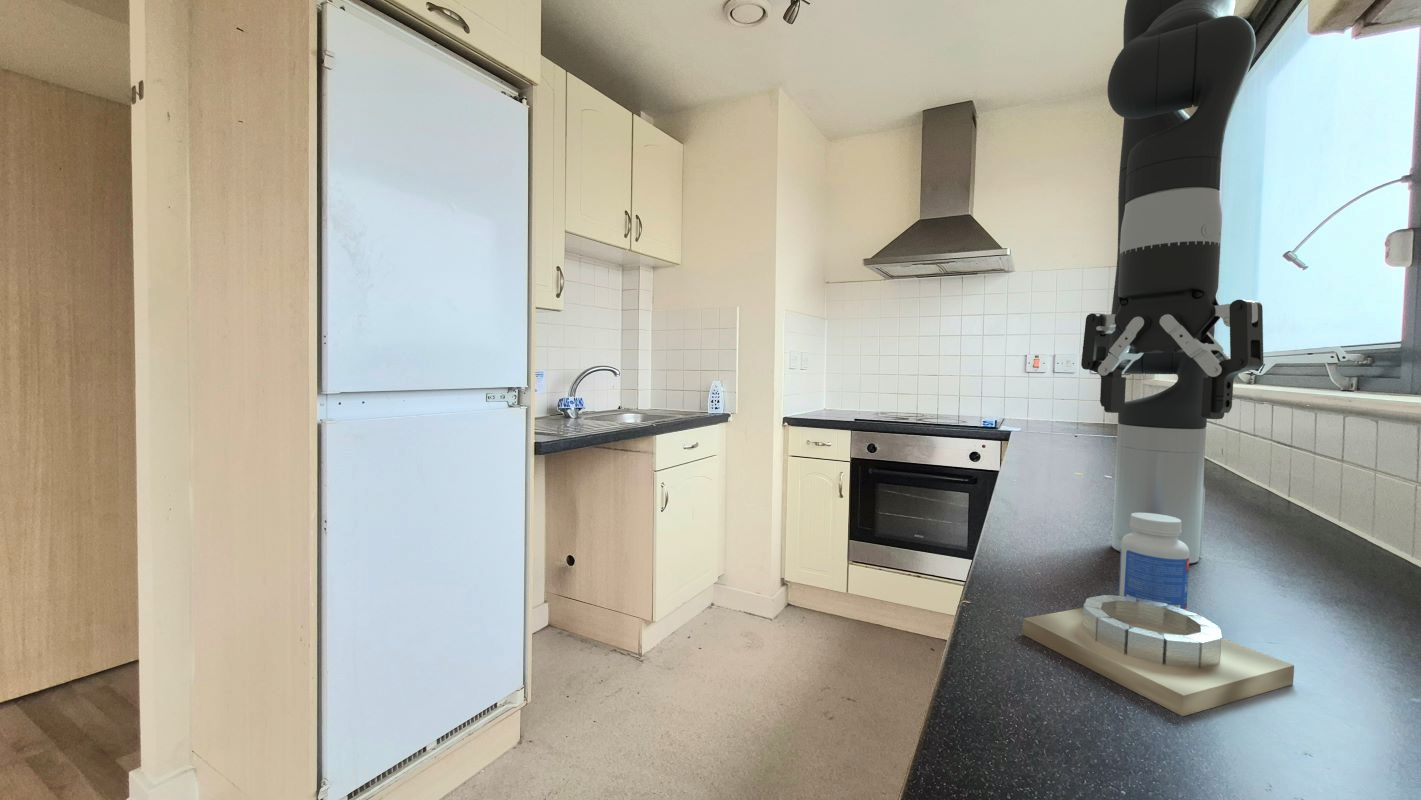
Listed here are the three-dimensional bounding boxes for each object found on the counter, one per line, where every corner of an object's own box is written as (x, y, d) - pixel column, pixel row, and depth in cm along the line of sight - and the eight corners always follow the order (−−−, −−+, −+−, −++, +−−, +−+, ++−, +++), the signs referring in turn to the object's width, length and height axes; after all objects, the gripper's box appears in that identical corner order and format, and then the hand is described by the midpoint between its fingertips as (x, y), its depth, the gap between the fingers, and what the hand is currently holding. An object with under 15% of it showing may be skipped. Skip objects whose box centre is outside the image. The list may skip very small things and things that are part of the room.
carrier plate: (1121, 615, 56) (1122, 600, 56) (1292, 684, 44) (1294, 665, 44) (1022, 634, 52) (1023, 618, 52) (1182, 716, 39) (1183, 695, 39)
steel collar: (1129, 611, 53) (1130, 590, 53) (1246, 656, 45) (1248, 632, 45) (1059, 624, 50) (1060, 602, 50) (1171, 675, 42) (1172, 649, 42)
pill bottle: (1199, 628, 54) (1205, 526, 53) (1135, 622, 55) (1140, 522, 54) (1165, 604, 59) (1170, 512, 58) (1107, 600, 60) (1112, 509, 59)
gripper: (1287, 234, 49) (1275, 420, 50) (1115, 263, 62) (1108, 410, 63) (1238, 225, 46) (1227, 422, 47) (1069, 257, 59) (1062, 411, 60)
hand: (1159, 415), depth 55 cm, fingers open, 8 cm apart
